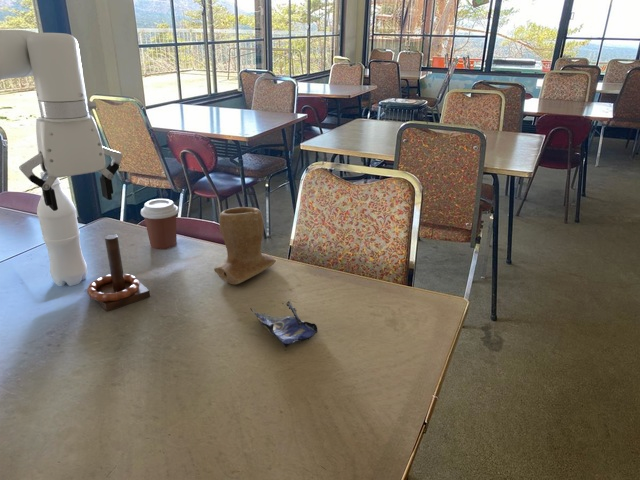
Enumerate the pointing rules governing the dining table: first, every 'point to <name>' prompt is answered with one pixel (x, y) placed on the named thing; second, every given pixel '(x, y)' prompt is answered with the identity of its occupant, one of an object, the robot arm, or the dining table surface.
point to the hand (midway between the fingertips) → (81, 203)
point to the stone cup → (242, 244)
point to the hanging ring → (112, 296)
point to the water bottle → (62, 238)
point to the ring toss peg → (118, 278)
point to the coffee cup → (160, 222)
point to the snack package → (287, 327)
